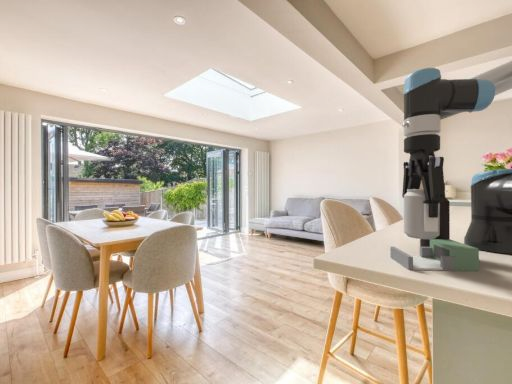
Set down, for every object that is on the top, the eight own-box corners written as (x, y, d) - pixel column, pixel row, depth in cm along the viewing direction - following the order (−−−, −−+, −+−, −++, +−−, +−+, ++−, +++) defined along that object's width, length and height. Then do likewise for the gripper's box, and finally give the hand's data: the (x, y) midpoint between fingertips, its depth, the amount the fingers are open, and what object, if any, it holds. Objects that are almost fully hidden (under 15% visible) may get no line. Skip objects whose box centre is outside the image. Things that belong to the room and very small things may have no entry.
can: (446, 240, 59) (446, 188, 59) (410, 239, 60) (410, 189, 60) (430, 234, 66) (431, 188, 66) (399, 233, 68) (399, 188, 68)
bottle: (455, 257, 68) (455, 182, 68) (430, 257, 69) (430, 183, 68) (438, 250, 75) (438, 182, 75) (415, 250, 75) (414, 183, 75)
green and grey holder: (449, 258, 68) (449, 239, 67) (478, 270, 58) (478, 248, 57) (390, 257, 69) (390, 239, 69) (408, 269, 59) (408, 248, 59)
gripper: (388, 143, 73) (388, 222, 74) (428, 127, 53) (428, 236, 54) (416, 142, 72) (416, 222, 73) (467, 125, 52) (466, 236, 53)
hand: (421, 228), depth 63 cm, fingers closed on can, 7 cm apart
